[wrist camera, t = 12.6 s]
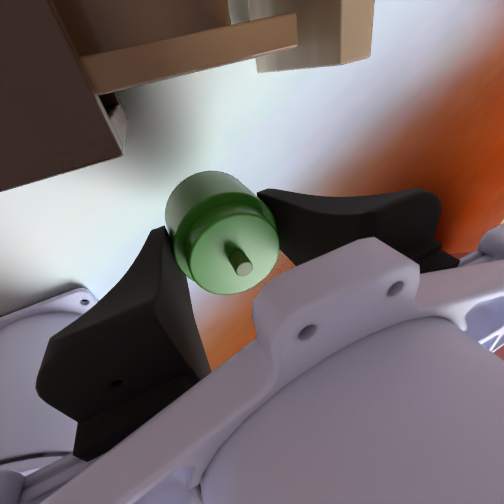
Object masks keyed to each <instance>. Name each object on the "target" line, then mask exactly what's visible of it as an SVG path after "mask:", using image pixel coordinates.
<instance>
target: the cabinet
mask: <svg viewBox="0 0 504 504" xmlns="http://www.w3.org/2000/svg"><path fill="white" fill-rule="evenodd" d="M126 126H127V117H126V114H125V112H124V110H123V107H122V105H121V103H120V101H119V98H118V96H117V94H116V92H111V93H107V94H103V95H99V96H98V94H97V92H96V90H95V88H94V86H93V84H92V82H91V80H90V78H89V76H88V73H87V71H86V69H85V67H84V65H83V63H82V61H81V59H80V57H79V55H78V53H77V51H76V49H75V47H74V44H73V42H72V40H71V38H70V36H69V34H68V32H67V30H66V28H65V26H64V24H63V22H62V20H61V18H60V15H59V13H58V11H57V9H56V7H55V5H54V3H53V1H52V0H0V192H2V191H6V190H9V189H13V188H16V187H19V186H23V185H26V184H30V183H33V182H36V181H40V180H43V179H47V178H50V177H54V176H57V175H60V174H64V173H67V172H71V171H74V170H78V169H81V168H84V167H88V166H91V165H95V164H98V163H101V162H105V161H108V160H112V159H115V158H119V157H121V156H123V149H124V141H125V134H126Z"/></svg>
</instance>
